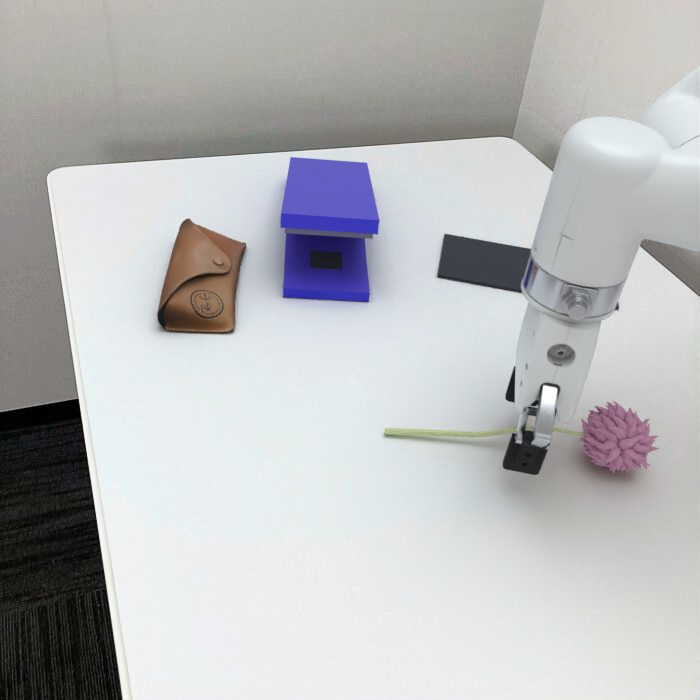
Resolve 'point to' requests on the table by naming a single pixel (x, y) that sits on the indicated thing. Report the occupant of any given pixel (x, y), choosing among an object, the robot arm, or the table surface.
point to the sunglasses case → (201, 282)
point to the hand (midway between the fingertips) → (520, 433)
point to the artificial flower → (587, 437)
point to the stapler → (327, 229)
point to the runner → (483, 263)
